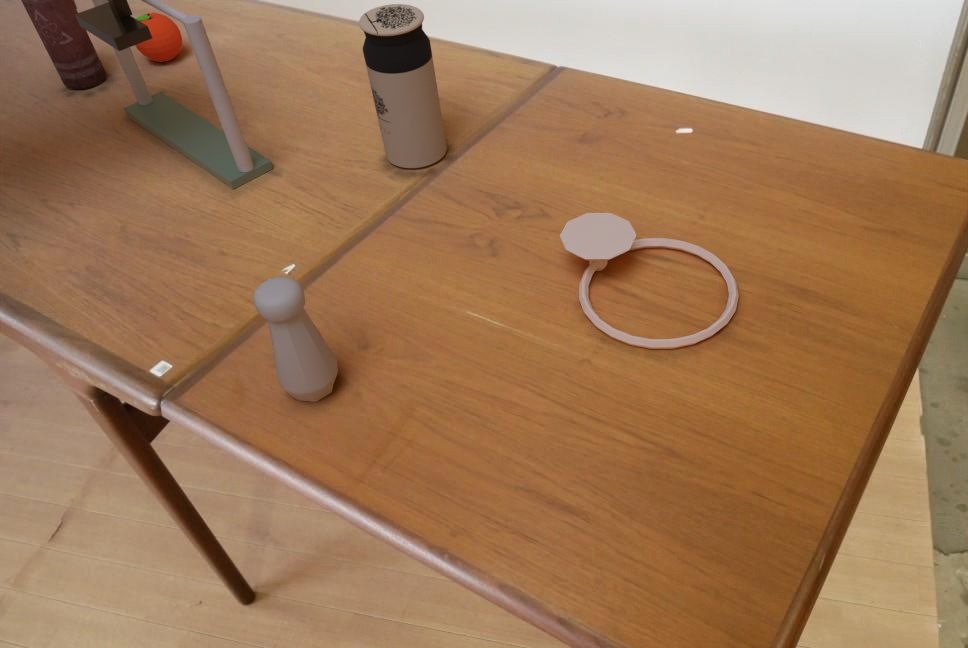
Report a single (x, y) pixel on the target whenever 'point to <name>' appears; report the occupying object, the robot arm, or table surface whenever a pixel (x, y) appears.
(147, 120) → the rack
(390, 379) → the table surface
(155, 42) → the clementine
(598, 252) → the hand towel holder
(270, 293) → the salt shaker
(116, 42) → the hanger
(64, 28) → the can
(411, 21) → the travel mug
